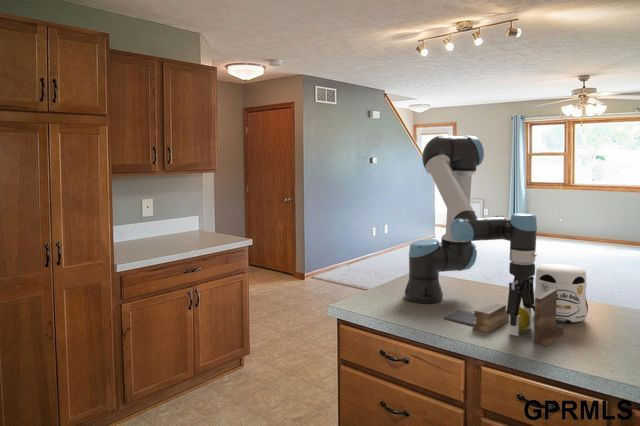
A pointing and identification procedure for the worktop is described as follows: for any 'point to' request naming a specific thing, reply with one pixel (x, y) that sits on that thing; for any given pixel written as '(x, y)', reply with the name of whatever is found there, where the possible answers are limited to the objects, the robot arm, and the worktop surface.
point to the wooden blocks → (543, 320)
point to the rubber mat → (461, 317)
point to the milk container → (564, 290)
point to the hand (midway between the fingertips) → (520, 330)
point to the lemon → (523, 319)
